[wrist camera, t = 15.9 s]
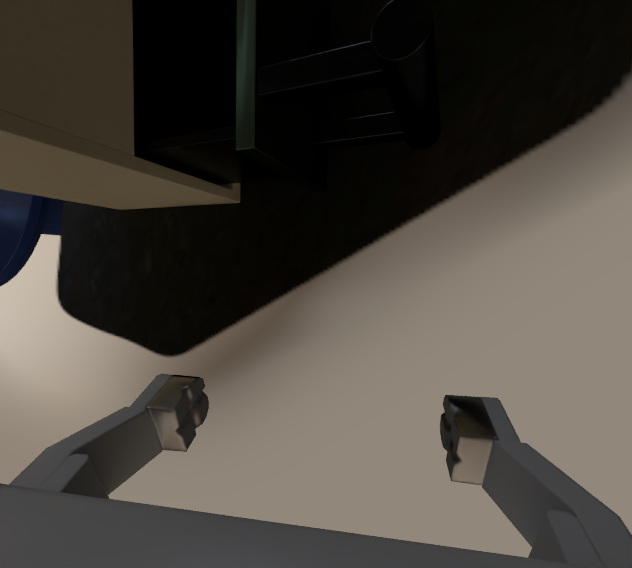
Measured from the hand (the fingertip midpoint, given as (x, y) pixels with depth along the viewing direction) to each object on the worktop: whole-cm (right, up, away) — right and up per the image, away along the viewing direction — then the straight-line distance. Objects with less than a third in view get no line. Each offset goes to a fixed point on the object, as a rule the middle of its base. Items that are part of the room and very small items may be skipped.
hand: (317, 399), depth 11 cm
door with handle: (-2, +17, +12) cm, 21 cm away
